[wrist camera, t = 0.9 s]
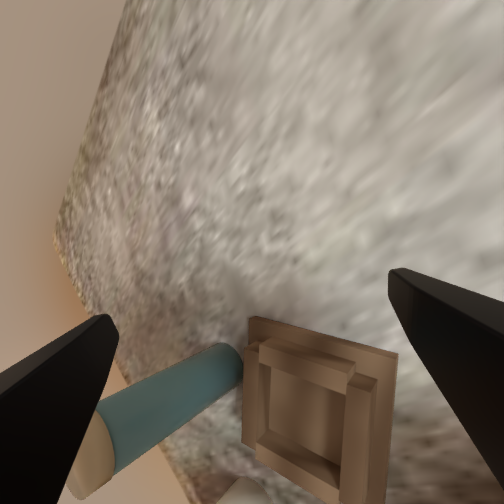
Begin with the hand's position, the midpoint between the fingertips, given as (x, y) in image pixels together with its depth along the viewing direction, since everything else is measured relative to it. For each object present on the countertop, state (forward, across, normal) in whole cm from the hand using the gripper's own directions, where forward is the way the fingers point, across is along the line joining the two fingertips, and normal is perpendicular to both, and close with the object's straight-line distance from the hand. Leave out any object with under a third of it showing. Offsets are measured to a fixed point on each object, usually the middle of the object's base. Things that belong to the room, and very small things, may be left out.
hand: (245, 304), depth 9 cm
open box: (+9, -2, +17) cm, 19 cm away
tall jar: (+14, +6, +17) cm, 23 cm away
